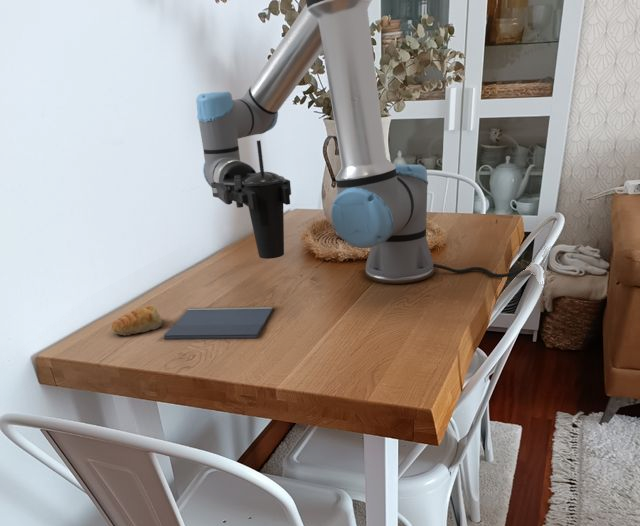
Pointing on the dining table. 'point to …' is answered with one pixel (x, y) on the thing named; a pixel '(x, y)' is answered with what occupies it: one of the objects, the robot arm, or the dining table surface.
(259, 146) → the drinking cup
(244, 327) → the dark gray flat panel
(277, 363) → the dining table surface
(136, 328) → the pastry
